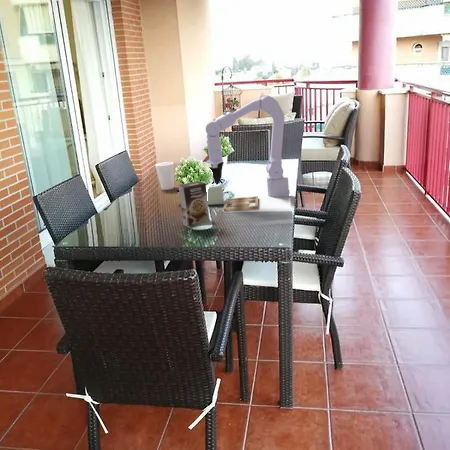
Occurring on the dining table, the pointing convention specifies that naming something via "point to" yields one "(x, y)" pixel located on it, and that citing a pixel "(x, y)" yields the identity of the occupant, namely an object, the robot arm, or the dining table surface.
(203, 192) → the brown cookie box
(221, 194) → the pale green slab
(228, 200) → the rack
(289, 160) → the dining table surface
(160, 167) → the foam cup
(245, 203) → the offcut upper
